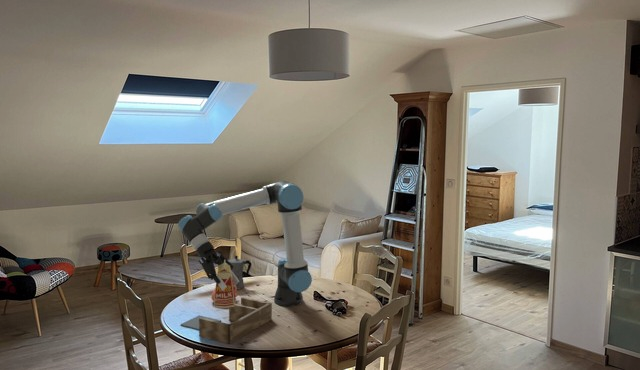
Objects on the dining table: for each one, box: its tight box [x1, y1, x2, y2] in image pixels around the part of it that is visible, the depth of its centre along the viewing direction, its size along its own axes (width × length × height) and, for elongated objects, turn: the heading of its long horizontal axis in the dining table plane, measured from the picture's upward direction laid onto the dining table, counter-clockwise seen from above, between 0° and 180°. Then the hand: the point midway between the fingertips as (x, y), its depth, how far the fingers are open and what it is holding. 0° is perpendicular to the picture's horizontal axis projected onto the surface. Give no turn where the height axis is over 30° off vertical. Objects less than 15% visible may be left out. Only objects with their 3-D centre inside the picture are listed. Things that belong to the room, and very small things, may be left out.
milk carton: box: [213, 260, 237, 309], centre depth 234 cm, size 9×9×20 cm
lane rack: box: [198, 296, 273, 345], centre depth 240 cm, size 17×32×8 cm, turn 153°
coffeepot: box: [227, 255, 252, 290], centre depth 297 cm, size 15×9×18 cm, turn 82°
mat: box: [180, 314, 222, 331], centre depth 243 cm, size 13×13×1 cm
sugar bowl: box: [211, 285, 239, 302], centre depth 273 cm, size 12×14×10 cm
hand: (231, 285), depth 233 cm, fingers closed on milk carton, 9 cm apart
